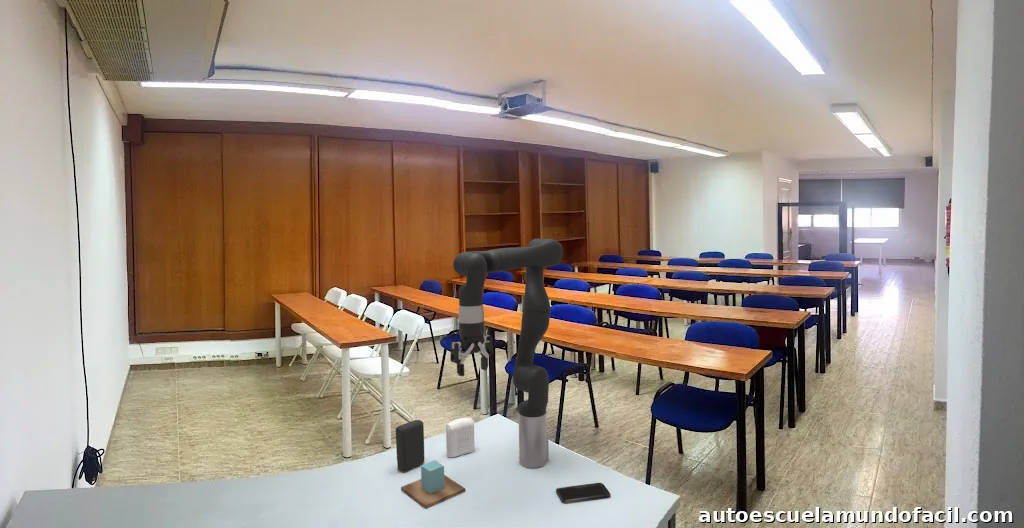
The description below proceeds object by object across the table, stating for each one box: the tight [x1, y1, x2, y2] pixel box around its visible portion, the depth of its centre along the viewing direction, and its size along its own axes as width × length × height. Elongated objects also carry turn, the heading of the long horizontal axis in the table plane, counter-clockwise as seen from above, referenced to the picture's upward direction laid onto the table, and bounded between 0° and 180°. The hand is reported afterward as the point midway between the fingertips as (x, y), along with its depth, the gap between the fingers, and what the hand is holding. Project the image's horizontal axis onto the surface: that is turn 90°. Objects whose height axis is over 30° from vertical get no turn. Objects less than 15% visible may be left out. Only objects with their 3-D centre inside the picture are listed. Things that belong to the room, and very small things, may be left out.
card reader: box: [395, 419, 425, 473], centre depth 179 cm, size 9×4×15 cm, turn 136°
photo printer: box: [445, 417, 476, 458], centre depth 189 cm, size 10×4×12 cm, turn 123°
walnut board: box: [400, 474, 466, 510], centre depth 164 cm, size 14×14×1 cm
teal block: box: [420, 460, 445, 494], centre depth 164 cm, size 5×5×7 cm
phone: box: [555, 482, 611, 505], centre depth 161 cm, size 8×1×15 cm
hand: (472, 372), depth 162 cm, fingers open, 8 cm apart
